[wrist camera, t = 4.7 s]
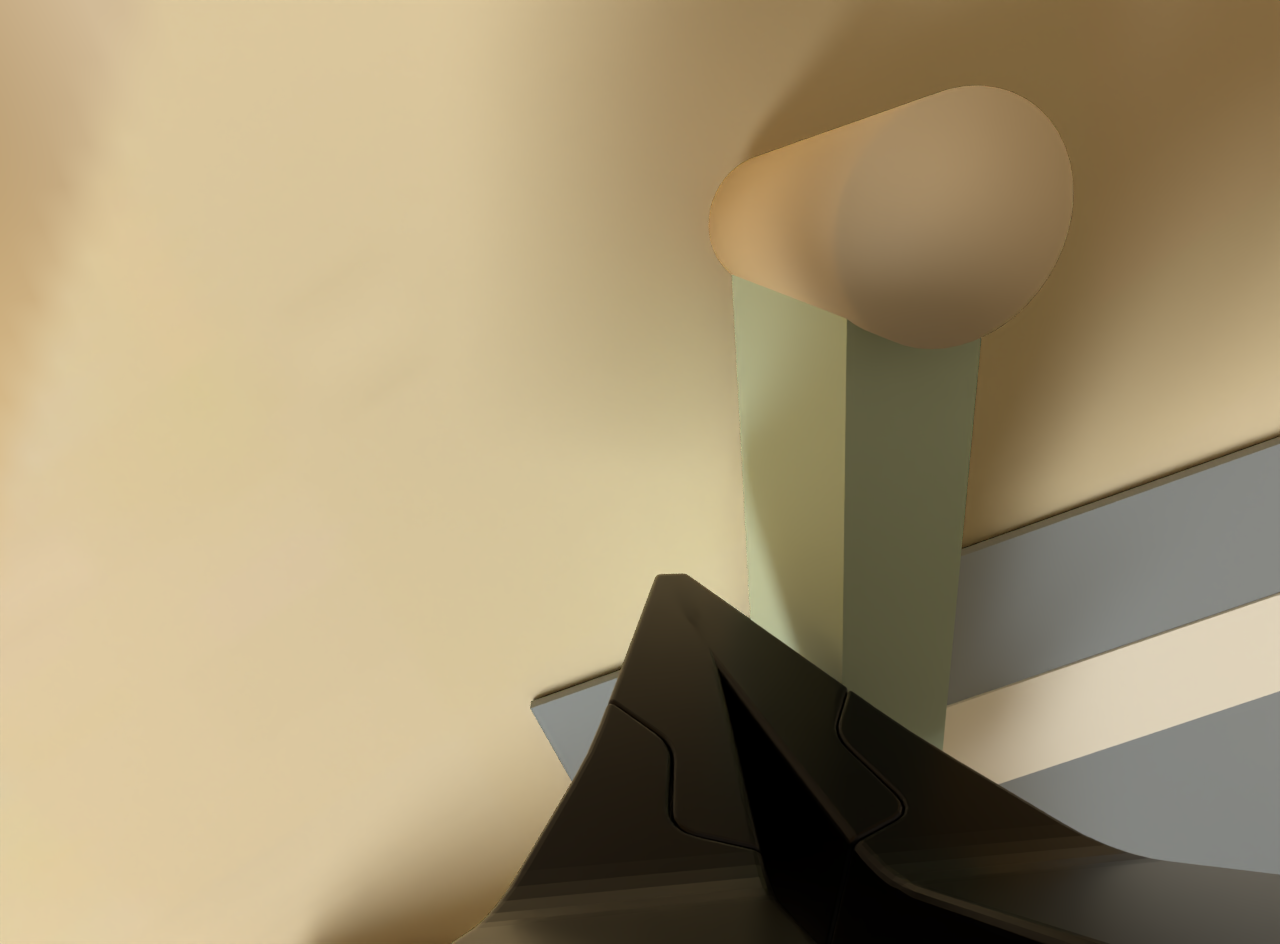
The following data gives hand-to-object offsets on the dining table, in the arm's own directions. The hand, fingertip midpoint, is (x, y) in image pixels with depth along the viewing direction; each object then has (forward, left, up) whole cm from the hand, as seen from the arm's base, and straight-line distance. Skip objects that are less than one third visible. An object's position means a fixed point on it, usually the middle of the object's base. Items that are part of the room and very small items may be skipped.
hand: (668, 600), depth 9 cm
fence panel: (-2, +1, -2) cm, 3 cm away
